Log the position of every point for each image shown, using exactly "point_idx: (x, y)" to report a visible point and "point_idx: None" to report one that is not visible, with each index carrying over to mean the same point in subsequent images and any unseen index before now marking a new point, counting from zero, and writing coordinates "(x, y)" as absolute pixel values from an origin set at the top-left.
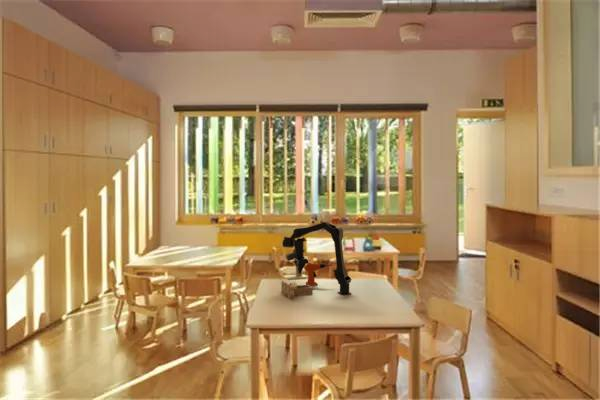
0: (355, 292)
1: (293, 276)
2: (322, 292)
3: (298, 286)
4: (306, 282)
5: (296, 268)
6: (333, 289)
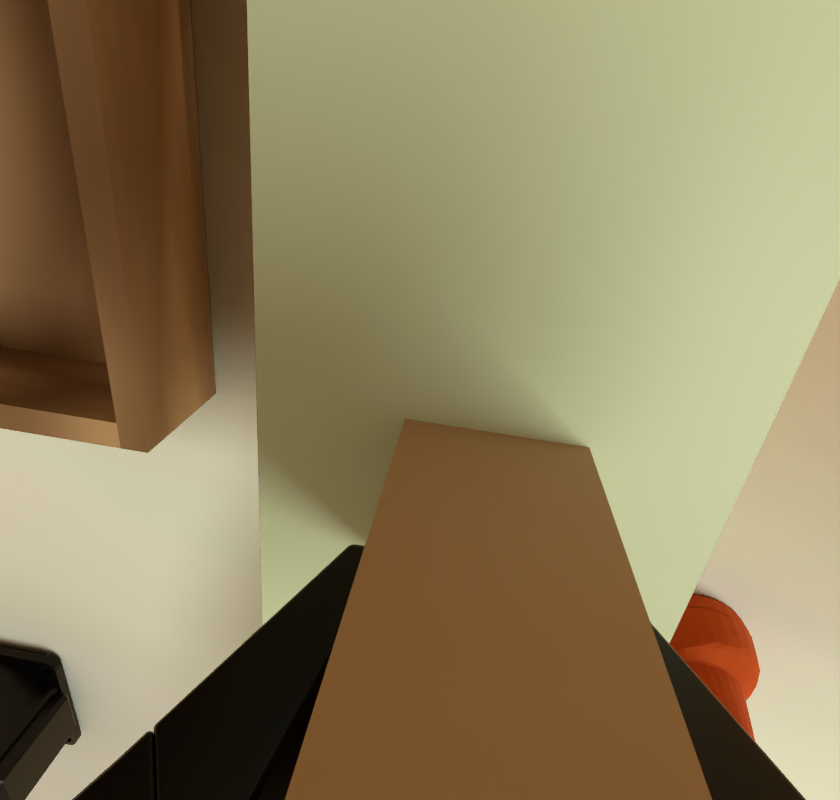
0: (62, 773)
1: (486, 297)
2: (103, 532)
3: (95, 203)
4: (708, 638)
5: (522, 727)
6: None
